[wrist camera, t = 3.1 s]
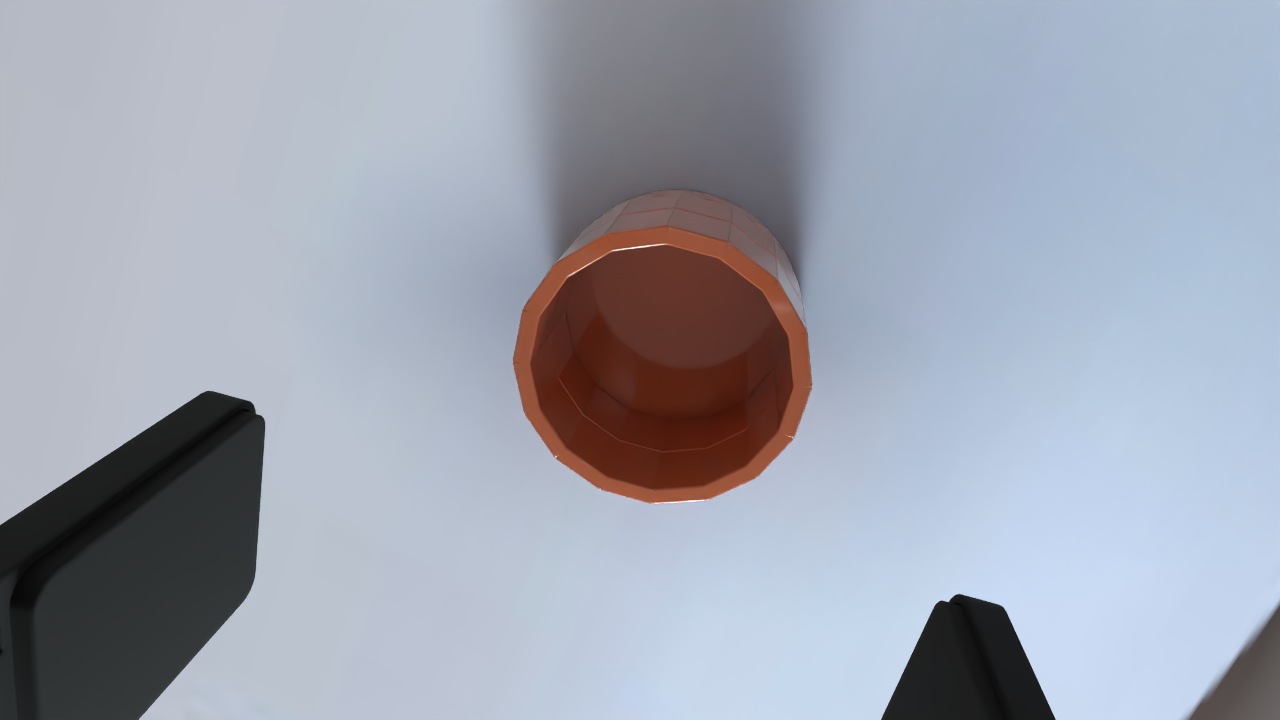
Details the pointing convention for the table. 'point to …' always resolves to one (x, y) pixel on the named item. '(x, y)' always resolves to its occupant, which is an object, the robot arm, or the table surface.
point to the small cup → (667, 350)
